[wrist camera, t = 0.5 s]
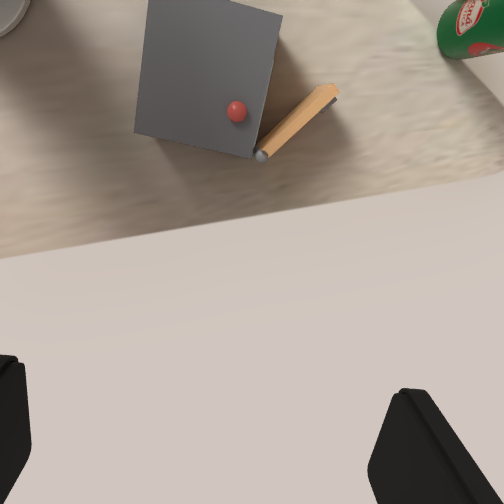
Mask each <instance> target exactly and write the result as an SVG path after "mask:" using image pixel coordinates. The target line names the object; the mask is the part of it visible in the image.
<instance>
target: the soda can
mask: <svg viewBox="0 0 504 504" xmlns="http://www.w3.org/2000/svg"><path fill="white" fill-rule="evenodd" d="M437 41H438V45H439V47H440V49H441V51H442V52H443V53H444V54H445V55H446V56H447V57H449V58H451V59H455V60H461V59H467V58H473V57H478V56H484V55H489V54H494V53H500V52H504V0H456V1H455V2H453V3H452V4H451V5H450V6H448V8H447V9H446V10H445V11H444V13H443V15H442V17H441V18H440V21H439V24H438V28H437Z"/></svg>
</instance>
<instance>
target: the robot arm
mask: <svg viewBox="0 0 504 504" xmlns="http://www.w3.org/2000/svg"><path fill="white" fill-rule="evenodd" d="M30 1H31V0H0V37H1V36H4V35H5V34H7V33H8V32H9V31H11V30H12V29H13V28H15V27H16V25H17V24H18V23H19V22H20V20H21V19H22V18H23V17H24V15H25V13H26V11H27V9H28V7H29V5H30ZM31 445H32V444H31V432H30V420H29V408H28V396H27V385H26V373H25V365H24V364H23V363H19V362H18V358H17V357H16V356H10V355H0V504H3V503H4V502H5V500H6V498H7V496H8V495H9V493H10V491H11V489H12V487H13V486H14V484H15V482H16V480H17V478H18V477H19V475H20V473H21V471H22V470H23V468H24V466H25V464H26V462H27V460H28V458H29V455H30V452H31ZM367 471H368V478H369V482H370V484H371V487H372V490H373V492H374V495H375V498H376V501H377V503H378V504H503V502H502V501H501V499H500V498H499V496H498V495H497V494H496V492H495V491H494V489H493V488H492V486H491V485H490V483H489V482H488V480H487V479H486V477H485V476H484V474H483V473H482V471H481V470H480V469H479V467H478V466H477V464H476V463H475V461H474V460H473V458H472V457H471V455H470V454H469V452H468V451H467V450H466V448H465V447H464V445H463V444H462V442H461V441H460V439H459V438H458V436H457V435H456V433H455V432H454V430H453V429H452V427H451V426H450V425H449V423H448V422H447V420H446V419H445V417H444V416H443V414H442V413H441V411H440V410H439V408H438V407H437V406H436V404H435V403H434V401H433V400H432V398H431V397H430V395H429V394H428V393H427V392H426V391H425V390H421V389H409V388H402V389H401V390H400V391H399V393H396V394H394V395H393V397H392V400H391V402H390V405H389V408H388V411H387V413H386V416H385V419H384V422H383V424H382V428H381V430H380V433H379V436H378V438H377V441H376V444H375V447H374V450H373V452H372V455H371V458H370V460H369V463H368V469H367Z"/></svg>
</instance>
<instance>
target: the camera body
mask: <svg viewBox="0 0 504 504" xmlns="http://www.w3.org/2000/svg"><path fill="white" fill-rule="evenodd" d="M282 17H283V16H282V15H279V14H275V13H271V12H268V11H264V10H261V9H257V8H254V7H250V6H247V5H243V4H239V3H236V2H232V1H229V0H149V1H148V10H147V19H146V28H145V37H144V46H143V55H142V64H141V73H140V82H139V91H138V100H137V109H136V118H135V127H134V133H138V134H142V135H147V136H151V137H156V138H160V139H164V140H169V141H173V142H178V143H182V144H186V145H191V146H195V147H200V148H204V149H209V150H213V151H217V152H222V153H226V154H231V155H235V156H240V157H244V158H248V159H251V157H252V152H253V148H254V147H255V144H256V140H257V135H258V131H259V126H260V122H261V117H262V113H263V108H264V104H265V100H266V95H267V91H268V86H269V82H270V77H271V73H272V68H273V64H274V60H273V58H274V53H275V49H276V44H277V40H278V35H279V31H280V26H281V22H282Z"/></svg>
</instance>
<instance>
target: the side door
mask: <svg viewBox="0 0 504 504" xmlns="http://www.w3.org/2000/svg"><path fill="white" fill-rule="evenodd" d="M338 93H340V91H339V90H338V89H337V87H336V86H335V85H334V83H332V84H326V85H321V86H318V87H317V88H316V89H315V90H313V91H312V92H311V93H310V94H309V95H308V96H307V97H306V98H305V99H304V100H303V101H302V102H301V103H300V104H299V105H298V106H296V107H295V108H294V109H293V110H292V111H291V112H290V113H289V114H288V115H287V116H286V117H285V118H284V119H283V120H282V121H280V122H279V123H278V124H277V125H276V126H275V127H274V128H273V129H272V130H271V131H270V132H269V133H268V134H267V135H266V136H265V137H263V138H262V139H261V140H260V141H259V142H258V143H257V144H255V147H254V148H253V153H254V155H255V158H256V160H257V161H258V162H259V163H265V162H266V161H267V160H268V158H269V157H270V156H271V155H272V154H273V153H274V152H276V151H277V150H278V149H279V148H280V147H281V146H282V145H283V144H284V143H285V142H286V141H287V140H289V139H290V138H291V137H292V136H293V135H294V134H295V133H296V132H297V131H298V130H299V129H300V128H302V127H303V126H304V125H305V124H306V123H307V122H308V121H309V120H310V119H311V118H312V117H314V116H315V115H316V114H317V113H318V112H319V113H323V112H325V111H326V110H327V109H328V108H329V107H330V106H331V105H332V104H333V103H334V102H335V101H337V99H336V97H335V96H336V95H337V94H338Z"/></svg>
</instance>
